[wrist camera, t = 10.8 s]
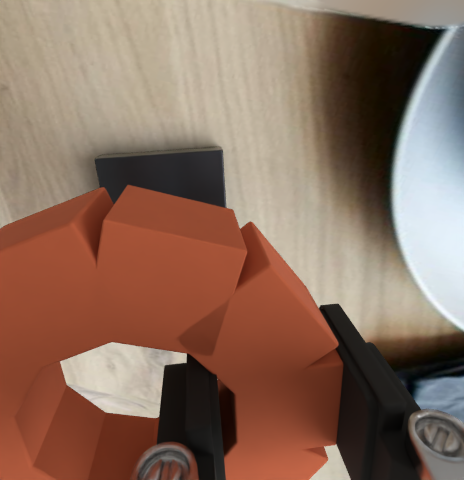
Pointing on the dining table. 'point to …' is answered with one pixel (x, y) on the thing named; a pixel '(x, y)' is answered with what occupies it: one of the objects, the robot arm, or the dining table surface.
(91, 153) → the dining table surface
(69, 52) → the dining table surface
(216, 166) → the black peg stand
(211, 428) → the robot arm
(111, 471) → the ring
